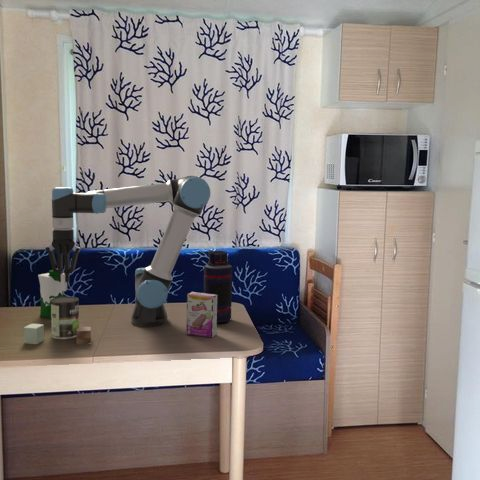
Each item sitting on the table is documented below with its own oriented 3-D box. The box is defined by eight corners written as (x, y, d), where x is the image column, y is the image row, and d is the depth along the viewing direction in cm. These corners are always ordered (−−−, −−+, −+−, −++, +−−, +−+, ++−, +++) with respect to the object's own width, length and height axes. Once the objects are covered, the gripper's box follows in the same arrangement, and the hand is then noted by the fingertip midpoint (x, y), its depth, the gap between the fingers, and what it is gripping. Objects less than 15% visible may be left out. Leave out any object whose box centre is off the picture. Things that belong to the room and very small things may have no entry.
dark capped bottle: (235, 323, 230) (237, 253, 225) (209, 326, 224) (211, 254, 220) (222, 314, 242) (223, 248, 237) (197, 317, 237) (198, 249, 232)
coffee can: (84, 332, 213) (83, 297, 211) (71, 340, 203) (70, 303, 201) (60, 330, 215) (59, 295, 213) (46, 338, 205) (45, 301, 203)
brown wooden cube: (90, 339, 205) (90, 326, 204) (90, 343, 200) (90, 330, 200) (77, 340, 204) (76, 327, 203) (76, 344, 199) (76, 331, 198)
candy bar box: (185, 335, 213) (186, 294, 210) (191, 331, 217) (191, 291, 215) (212, 338, 209) (213, 297, 207) (217, 334, 214) (217, 294, 211)
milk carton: (49, 319, 228) (48, 272, 226) (36, 315, 234) (35, 269, 231) (67, 315, 236) (66, 269, 233) (54, 311, 241) (53, 266, 238)
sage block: (44, 340, 203) (43, 324, 202) (37, 344, 198) (36, 328, 197) (31, 339, 204) (31, 323, 203) (24, 343, 199) (23, 327, 198)
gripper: (42, 229, 199) (43, 292, 203) (77, 230, 199) (78, 293, 203) (49, 227, 207) (50, 287, 210) (83, 228, 207) (84, 288, 210)
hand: (64, 290), depth 206 cm, fingers closed
